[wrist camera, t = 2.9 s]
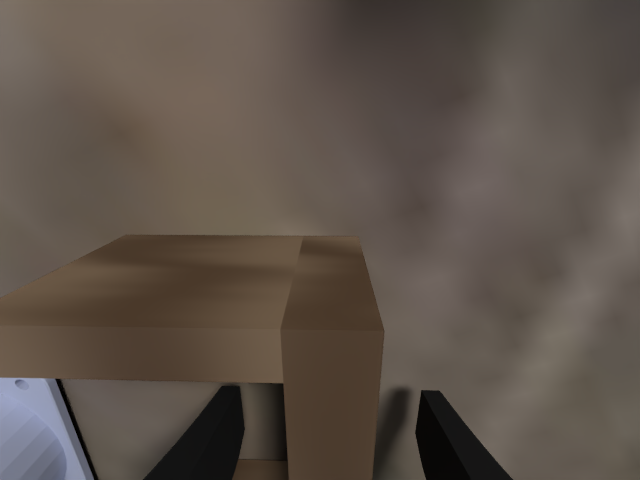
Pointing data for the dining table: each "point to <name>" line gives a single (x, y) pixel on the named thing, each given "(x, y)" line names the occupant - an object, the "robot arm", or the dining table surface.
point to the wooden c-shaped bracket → (220, 332)
